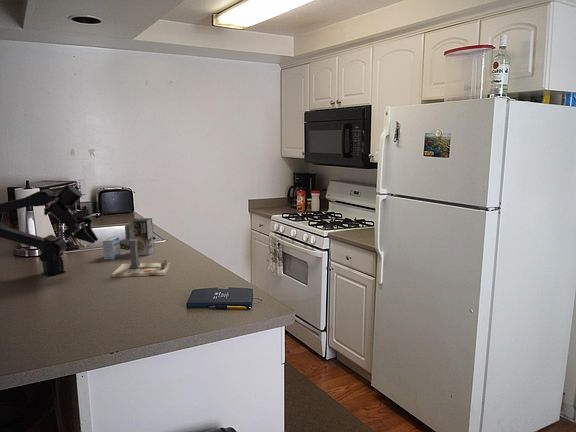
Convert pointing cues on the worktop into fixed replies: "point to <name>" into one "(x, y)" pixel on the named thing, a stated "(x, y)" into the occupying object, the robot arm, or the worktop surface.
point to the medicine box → (111, 248)
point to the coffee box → (142, 234)
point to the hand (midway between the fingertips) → (95, 241)
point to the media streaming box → (125, 243)
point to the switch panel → (142, 269)
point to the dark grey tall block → (134, 253)
